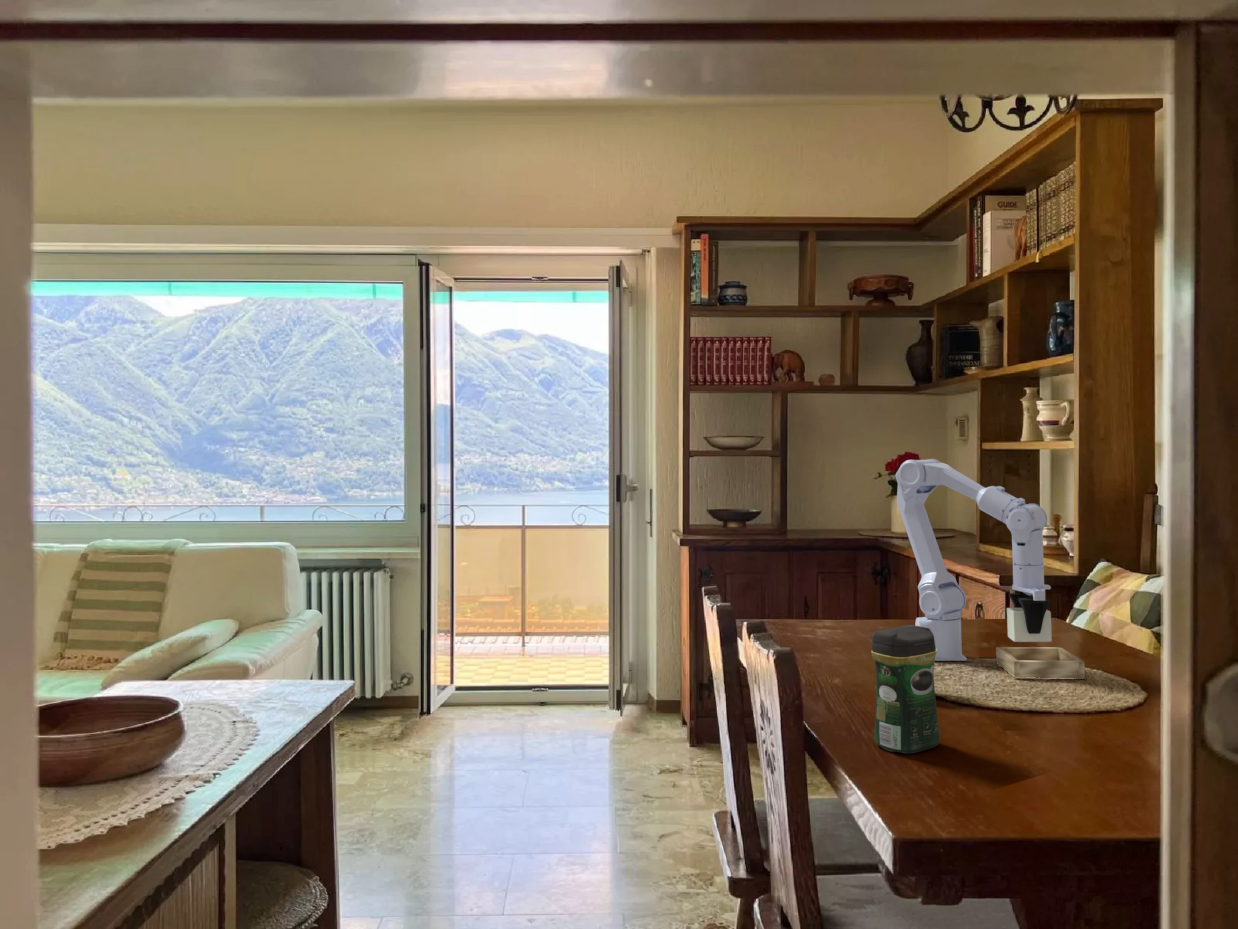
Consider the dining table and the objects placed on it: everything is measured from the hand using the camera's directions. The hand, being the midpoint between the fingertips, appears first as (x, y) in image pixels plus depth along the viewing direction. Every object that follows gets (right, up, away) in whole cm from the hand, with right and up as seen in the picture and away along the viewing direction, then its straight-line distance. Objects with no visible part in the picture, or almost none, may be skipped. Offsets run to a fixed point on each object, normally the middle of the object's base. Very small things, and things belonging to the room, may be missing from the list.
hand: (1030, 630), depth 177 cm
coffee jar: (-39, -10, -42) cm, 58 cm away
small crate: (0, -2, 0) cm, 2 cm away
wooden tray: (+2, -8, 0) cm, 9 cm away
